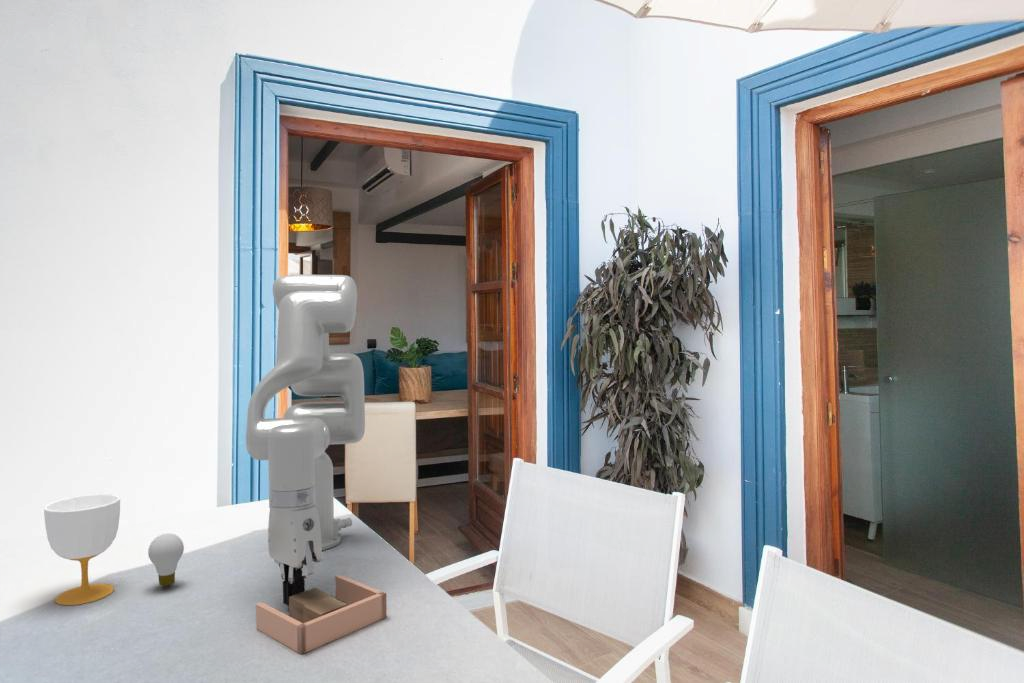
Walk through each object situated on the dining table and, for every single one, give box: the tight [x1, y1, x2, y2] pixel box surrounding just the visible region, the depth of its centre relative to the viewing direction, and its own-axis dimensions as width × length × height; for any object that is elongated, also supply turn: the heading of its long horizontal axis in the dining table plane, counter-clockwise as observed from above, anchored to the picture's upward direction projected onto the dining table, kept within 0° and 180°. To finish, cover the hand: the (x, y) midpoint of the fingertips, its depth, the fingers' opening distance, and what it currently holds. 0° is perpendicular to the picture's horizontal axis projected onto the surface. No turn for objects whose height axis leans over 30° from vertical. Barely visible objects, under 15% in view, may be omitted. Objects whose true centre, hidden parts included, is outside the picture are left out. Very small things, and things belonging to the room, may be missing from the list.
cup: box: [43, 493, 121, 606], centre depth 119 cm, size 12×12×17 cm
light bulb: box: [147, 533, 185, 589], centre depth 122 cm, size 6×6×10 cm
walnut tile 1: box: [288, 587, 333, 623], centre depth 110 cm, size 5×5×4 cm
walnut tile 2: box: [303, 596, 348, 623], centre depth 106 cm, size 5×5×4 cm
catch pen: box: [255, 574, 388, 655], centre depth 107 cm, size 16×13×4 cm
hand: (294, 602), depth 113 cm, fingers closed
